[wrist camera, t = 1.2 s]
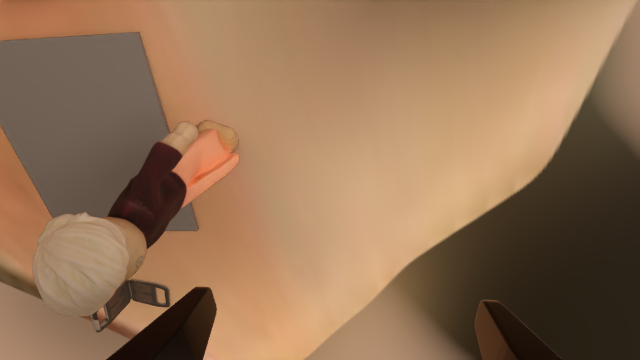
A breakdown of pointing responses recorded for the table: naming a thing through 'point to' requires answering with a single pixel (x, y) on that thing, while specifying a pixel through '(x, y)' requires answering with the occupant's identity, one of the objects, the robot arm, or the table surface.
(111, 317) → the strap clip
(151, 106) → the mat
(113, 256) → the grandmother figurine
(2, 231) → the table surface
